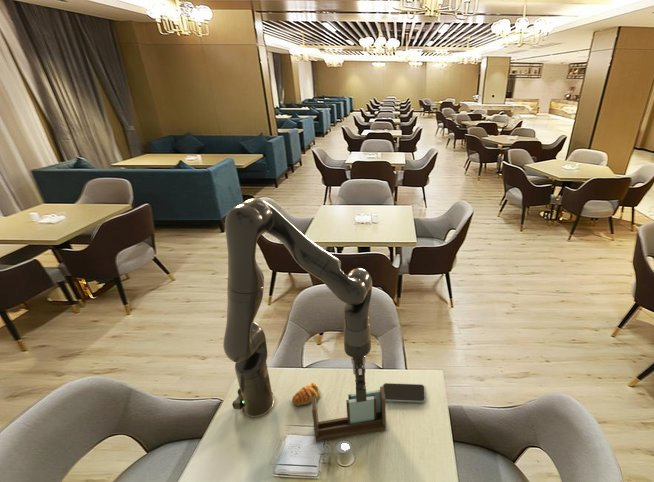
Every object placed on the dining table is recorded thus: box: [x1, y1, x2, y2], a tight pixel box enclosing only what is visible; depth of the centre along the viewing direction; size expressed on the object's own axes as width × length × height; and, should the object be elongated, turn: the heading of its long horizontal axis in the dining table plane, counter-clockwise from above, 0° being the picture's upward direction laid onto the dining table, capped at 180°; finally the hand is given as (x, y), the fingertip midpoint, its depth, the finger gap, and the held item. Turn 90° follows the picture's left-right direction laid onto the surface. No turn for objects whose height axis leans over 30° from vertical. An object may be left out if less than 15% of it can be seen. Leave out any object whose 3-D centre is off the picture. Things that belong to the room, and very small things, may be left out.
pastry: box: [291, 382, 322, 407], centre depth 123 cm, size 9×7×4 cm
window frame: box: [311, 385, 387, 443], centre depth 110 cm, size 6×22×14 cm, turn 102°
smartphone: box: [382, 382, 426, 404], centre depth 126 cm, size 7×1×15 cm
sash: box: [345, 384, 377, 424], centre depth 110 cm, size 2×9×15 cm, turn 102°
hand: (358, 379), depth 105 cm, fingers open, 8 cm apart
